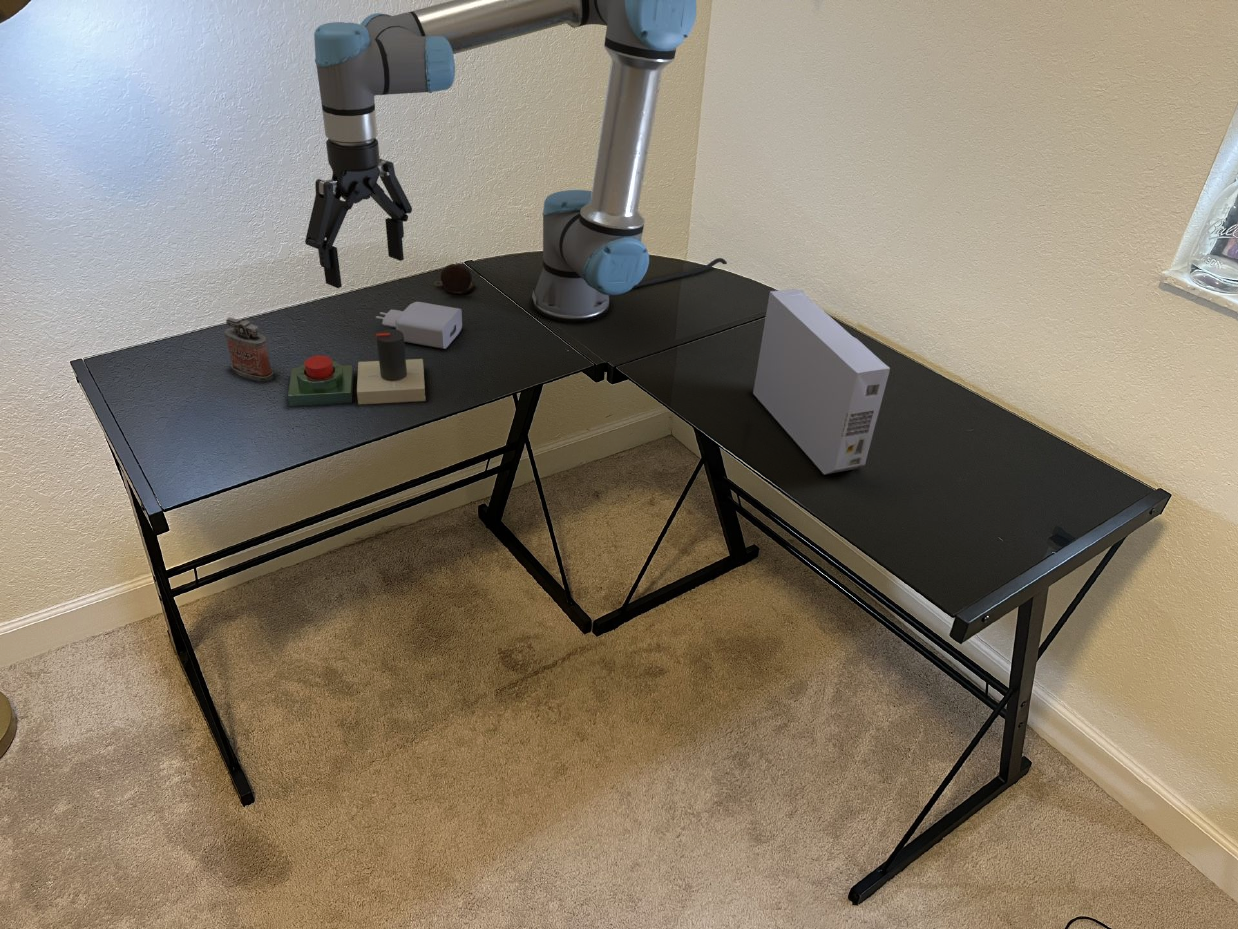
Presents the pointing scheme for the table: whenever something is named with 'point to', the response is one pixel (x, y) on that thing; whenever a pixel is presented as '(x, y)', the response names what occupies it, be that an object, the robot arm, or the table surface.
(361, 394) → the hob panel
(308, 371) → the button
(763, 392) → the game console
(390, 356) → the hob knob
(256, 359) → the lighter
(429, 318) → the charger
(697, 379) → the table surface
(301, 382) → the box
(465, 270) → the dark brown round lump
